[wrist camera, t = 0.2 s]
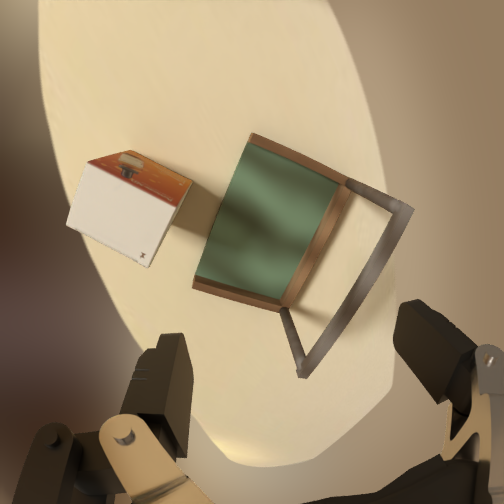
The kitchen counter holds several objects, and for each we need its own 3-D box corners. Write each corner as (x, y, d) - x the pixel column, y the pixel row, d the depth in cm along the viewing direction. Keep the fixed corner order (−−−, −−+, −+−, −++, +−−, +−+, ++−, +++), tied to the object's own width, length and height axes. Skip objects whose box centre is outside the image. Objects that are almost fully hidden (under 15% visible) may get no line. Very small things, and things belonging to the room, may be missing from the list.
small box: (194, 180, 28) (180, 208, 18) (170, 225, 30) (149, 271, 20) (129, 147, 25) (85, 159, 16) (109, 193, 27) (63, 226, 18)
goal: (251, 132, 26) (275, 132, 15) (348, 177, 29) (415, 209, 18) (192, 280, 33) (183, 355, 21) (282, 306, 36) (307, 378, 25)
